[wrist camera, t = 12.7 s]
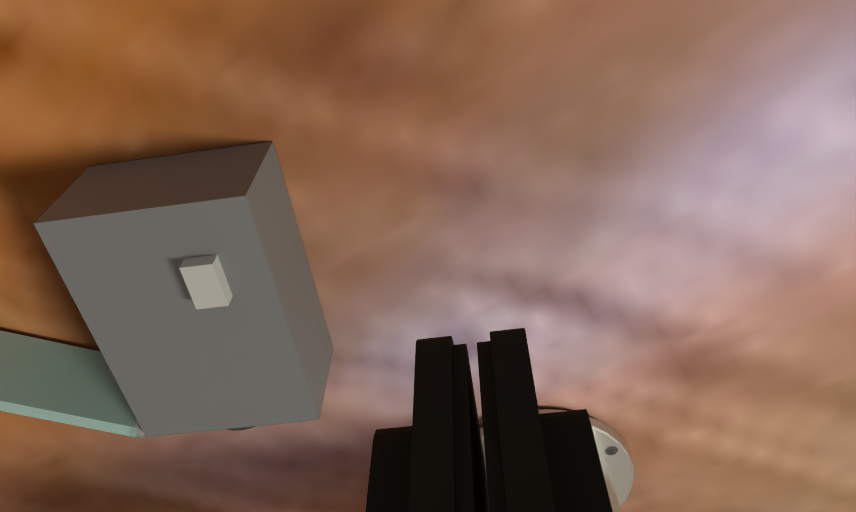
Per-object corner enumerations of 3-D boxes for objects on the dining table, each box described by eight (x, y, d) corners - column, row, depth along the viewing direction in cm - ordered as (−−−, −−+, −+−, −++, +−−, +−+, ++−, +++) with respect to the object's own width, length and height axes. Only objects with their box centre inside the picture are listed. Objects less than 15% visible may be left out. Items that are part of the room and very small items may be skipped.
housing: (336, 360, 44) (321, 443, 38) (184, 376, 45) (147, 460, 39) (272, 141, 36) (241, 204, 30) (89, 166, 37) (24, 232, 31)
